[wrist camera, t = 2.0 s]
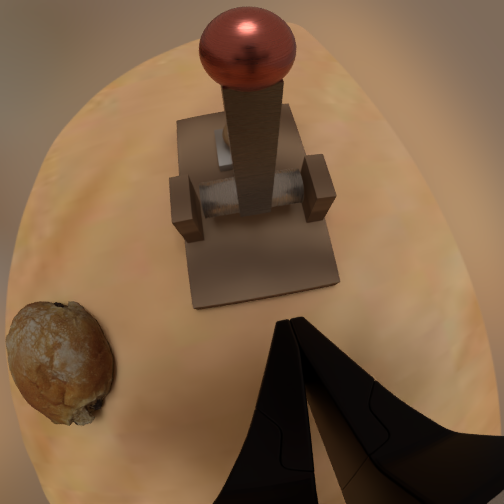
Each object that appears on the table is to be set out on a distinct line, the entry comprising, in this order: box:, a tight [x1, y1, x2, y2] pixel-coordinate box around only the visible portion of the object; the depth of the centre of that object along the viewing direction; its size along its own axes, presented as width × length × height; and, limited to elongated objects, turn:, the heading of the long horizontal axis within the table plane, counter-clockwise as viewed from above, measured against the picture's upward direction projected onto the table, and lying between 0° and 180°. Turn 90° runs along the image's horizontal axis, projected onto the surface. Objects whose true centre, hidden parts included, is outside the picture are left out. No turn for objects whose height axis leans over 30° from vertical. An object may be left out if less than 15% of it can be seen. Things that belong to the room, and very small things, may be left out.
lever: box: [199, 7, 304, 218], centre depth 12 cm, size 6×6×13 cm
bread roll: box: [6, 301, 113, 426], centre depth 17 cm, size 10×10×8 cm
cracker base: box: [169, 104, 340, 310], centre depth 19 cm, size 16×10×6 cm, turn 10°
